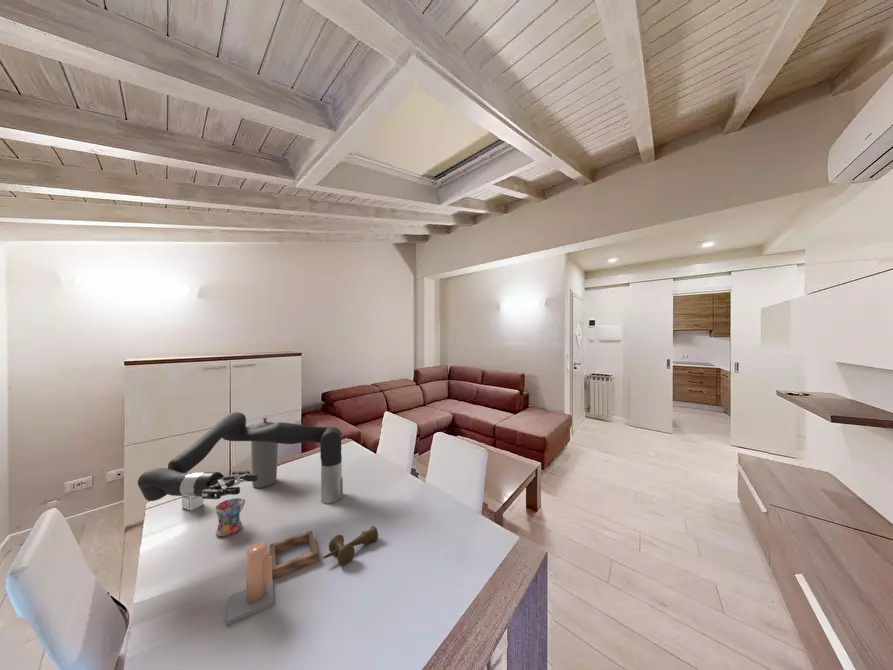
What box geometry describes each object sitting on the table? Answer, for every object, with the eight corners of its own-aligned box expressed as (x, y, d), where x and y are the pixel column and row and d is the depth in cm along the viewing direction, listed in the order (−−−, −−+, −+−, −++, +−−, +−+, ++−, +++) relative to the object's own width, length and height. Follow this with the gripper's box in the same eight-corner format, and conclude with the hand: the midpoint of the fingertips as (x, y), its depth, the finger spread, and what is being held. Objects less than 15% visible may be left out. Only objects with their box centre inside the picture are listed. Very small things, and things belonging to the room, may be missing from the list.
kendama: (382, 546, 107) (327, 575, 93) (369, 534, 114) (317, 559, 100) (382, 530, 107) (328, 556, 94) (369, 519, 114) (317, 541, 101)
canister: (272, 475, 162) (272, 413, 162) (282, 481, 154) (283, 416, 155) (246, 484, 152) (246, 418, 152) (256, 492, 144) (256, 422, 144)
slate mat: (272, 582, 90) (272, 579, 90) (273, 605, 83) (273, 600, 83) (229, 600, 84) (229, 596, 84) (225, 625, 77) (225, 621, 77)
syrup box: (204, 504, 134) (204, 473, 134) (189, 511, 128) (189, 478, 128) (196, 502, 136) (196, 471, 136) (181, 509, 130) (181, 476, 130)
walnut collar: (312, 537, 111) (312, 530, 111) (318, 561, 99) (318, 552, 99) (269, 552, 103) (269, 544, 103) (270, 580, 91) (270, 570, 91)
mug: (229, 539, 110) (229, 512, 110) (207, 537, 111) (208, 510, 111) (254, 520, 122) (254, 495, 122) (234, 518, 123) (234, 493, 123)
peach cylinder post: (241, 603, 82) (242, 554, 82) (254, 587, 87) (254, 541, 87) (264, 604, 82) (265, 555, 82) (276, 588, 87) (276, 542, 87)
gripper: (219, 484, 105) (262, 484, 105) (182, 507, 91) (232, 507, 91) (219, 463, 105) (262, 463, 105) (182, 483, 91) (232, 483, 91)
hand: (248, 483), depth 98 cm, fingers open, 8 cm apart
